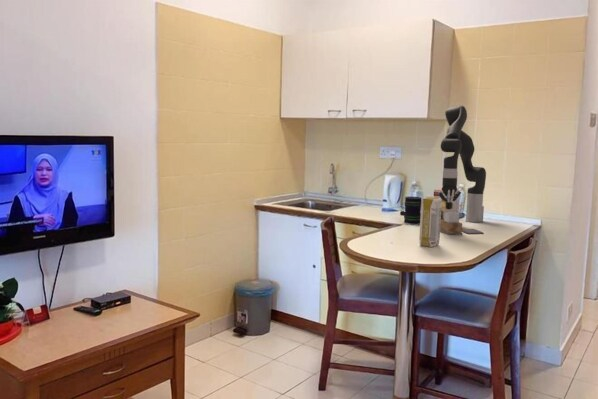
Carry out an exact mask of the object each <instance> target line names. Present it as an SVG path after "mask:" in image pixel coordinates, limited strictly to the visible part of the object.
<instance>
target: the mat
mask: <svg viewBox="0 0 598 399" xmlns="http://www.w3.org/2000/svg"><path fill="white" fill-rule="evenodd" d="M462 233H464V234H467V235H484V234H485V233H484V232H483V231H480V230H478V229H475V228H462Z"/></svg>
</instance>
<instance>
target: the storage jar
mask: <svg viewBox="0 0 598 399" xmlns="http://www.w3.org/2000/svg"><path fill="white" fill-rule="evenodd" d="M422 199H423V198H422V197H420V196H405V197H404V212H403V213H404V215H403V219H404V220H403V223H405V224H409V225H410V224H411V225H416V224H419V225H420V218H421V203H422Z"/></svg>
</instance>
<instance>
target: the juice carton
mask: <svg viewBox="0 0 598 399" xmlns="http://www.w3.org/2000/svg"><path fill="white" fill-rule="evenodd" d="M432 196H433V195H426V196H425V198H424V197H423V198H422V199H421V200H422V203H421V218H420V223H419V237H418V238H419V246H421V245H423V246H422V247H426V246H429V247H428V248H433V246H434V247H436V245H437V246H438V245H439V244H440V241H441V240H440V239H441V232H440V225H441V207H442V203H441V198H433V197H434V196H433V197H432Z"/></svg>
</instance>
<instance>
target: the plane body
mask: <svg viewBox="0 0 598 399" xmlns="http://www.w3.org/2000/svg"><path fill="white" fill-rule="evenodd" d="M462 229H463V223H462V222H460V221H459V223H447V222H444V217H443V218H441V225H440V233H442V234H444V235H447V236H458V235H459V236H462V235H463V233H464V232H462Z"/></svg>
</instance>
